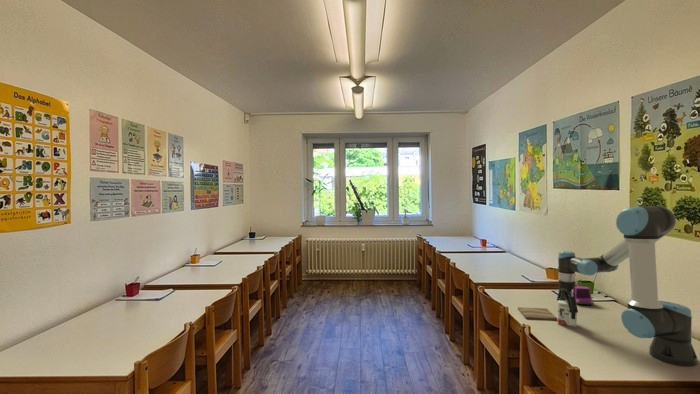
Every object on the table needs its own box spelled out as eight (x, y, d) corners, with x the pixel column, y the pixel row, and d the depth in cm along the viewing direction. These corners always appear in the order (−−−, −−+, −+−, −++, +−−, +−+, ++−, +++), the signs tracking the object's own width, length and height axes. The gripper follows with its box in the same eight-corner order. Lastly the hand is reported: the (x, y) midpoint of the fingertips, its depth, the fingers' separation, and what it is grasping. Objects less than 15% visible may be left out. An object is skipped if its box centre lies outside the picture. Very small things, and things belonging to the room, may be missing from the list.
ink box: (557, 324, 189) (557, 302, 189) (557, 321, 194) (557, 299, 193) (577, 327, 185) (576, 304, 185) (576, 323, 190) (576, 302, 189)
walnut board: (557, 320, 195) (557, 318, 195) (526, 319, 198) (526, 316, 198) (546, 310, 211) (546, 308, 211) (517, 309, 214) (517, 307, 214)
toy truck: (575, 305, 218) (575, 289, 218) (566, 298, 233) (566, 282, 233) (595, 306, 216) (595, 290, 216) (584, 298, 231) (584, 283, 231)
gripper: (585, 287, 176) (585, 329, 177) (564, 274, 201) (565, 311, 201) (568, 286, 177) (569, 328, 178) (550, 274, 202) (550, 311, 202)
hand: (567, 319), depth 189 cm, fingers open, 13 cm apart
